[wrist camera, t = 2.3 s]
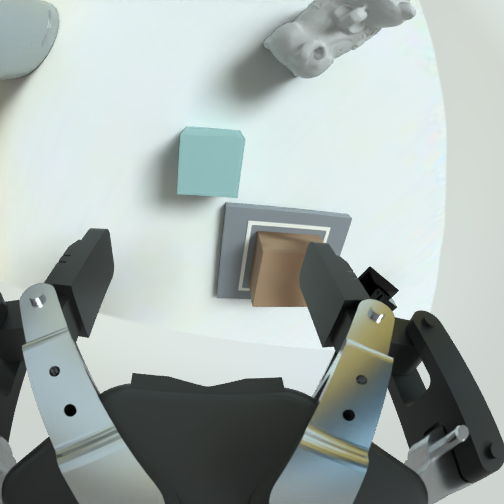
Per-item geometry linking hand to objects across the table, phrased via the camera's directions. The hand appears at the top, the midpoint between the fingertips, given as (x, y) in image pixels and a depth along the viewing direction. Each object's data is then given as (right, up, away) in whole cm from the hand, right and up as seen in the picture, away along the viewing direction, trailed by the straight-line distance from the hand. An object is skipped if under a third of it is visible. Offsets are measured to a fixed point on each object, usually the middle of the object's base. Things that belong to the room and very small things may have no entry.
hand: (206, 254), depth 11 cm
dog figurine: (+8, +21, +9) cm, 24 cm away
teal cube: (-2, +9, +15) cm, 18 cm away
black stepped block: (+20, -5, +28) cm, 35 cm away
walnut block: (+5, -1, +21) cm, 22 cm away
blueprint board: (+5, 0, +22) cm, 22 cm away
